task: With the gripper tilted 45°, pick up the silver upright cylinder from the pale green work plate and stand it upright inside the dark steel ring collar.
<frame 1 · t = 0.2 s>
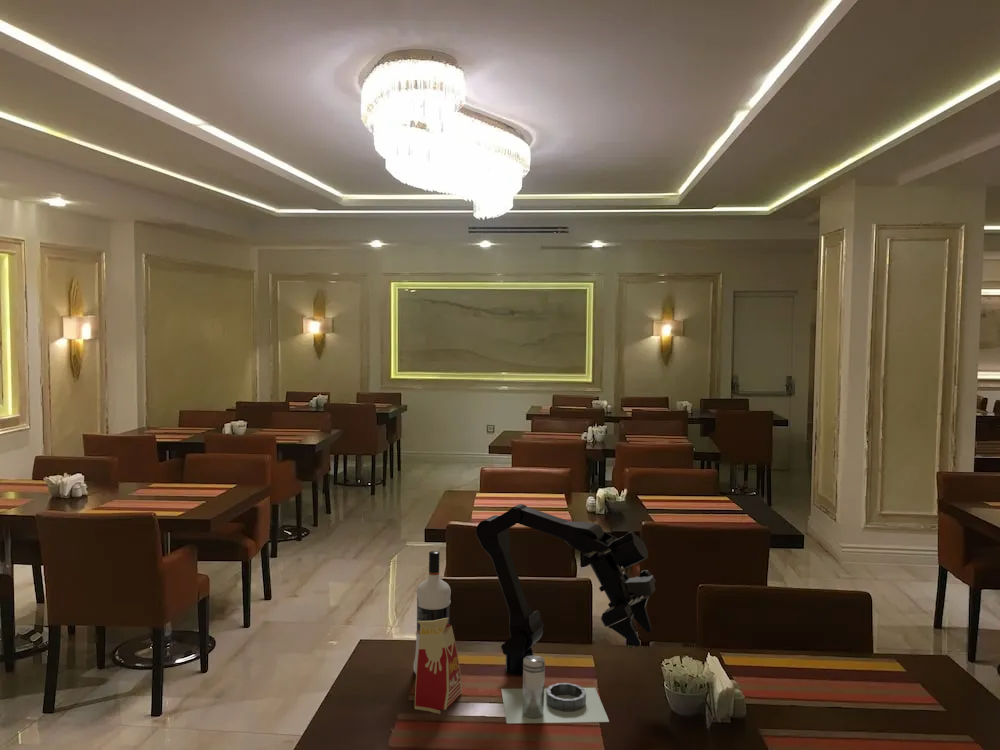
hand: (644, 638, 182), 15 cm above the table, tool tilted 35°, fingers open, 9 cm apart
vodka: (432, 672, 197), on the table
silver upright cylinder: (532, 713, 175), point 1 cm above the table, touching work plate
work plate: (553, 709, 179), on the table
ring collar: (565, 702, 180), resting on work plate
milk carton: (435, 703, 181), on the table
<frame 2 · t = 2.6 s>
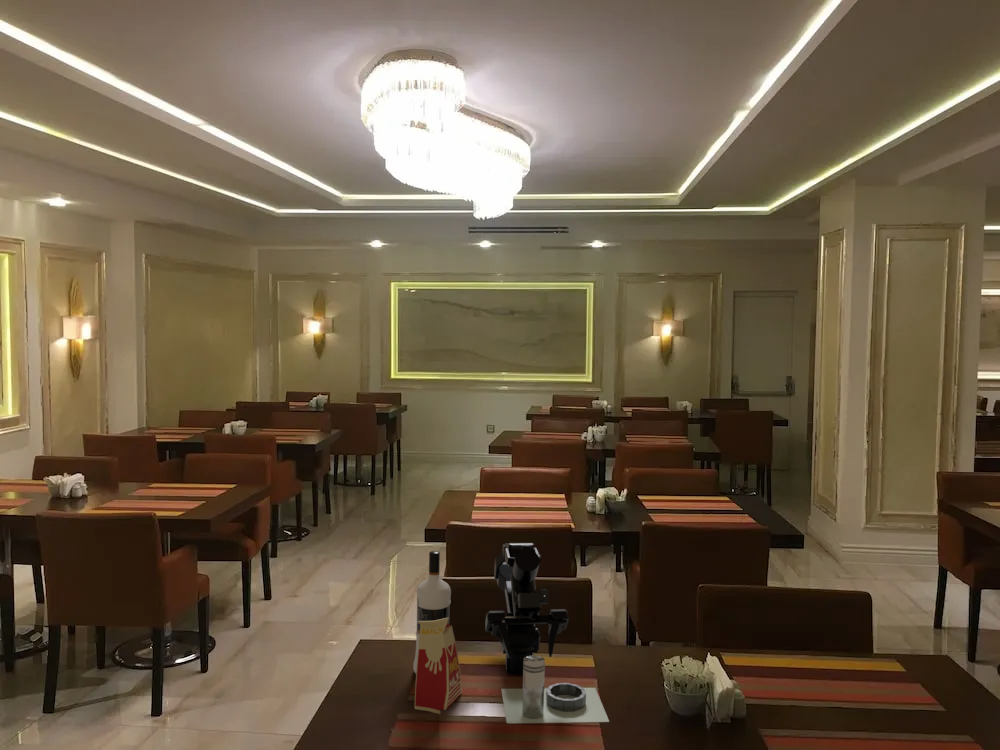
hand: (530, 657, 179), 12 cm above the table, tool tilted 45°, fingers open, 9 cm apart
nothing on the table moved.
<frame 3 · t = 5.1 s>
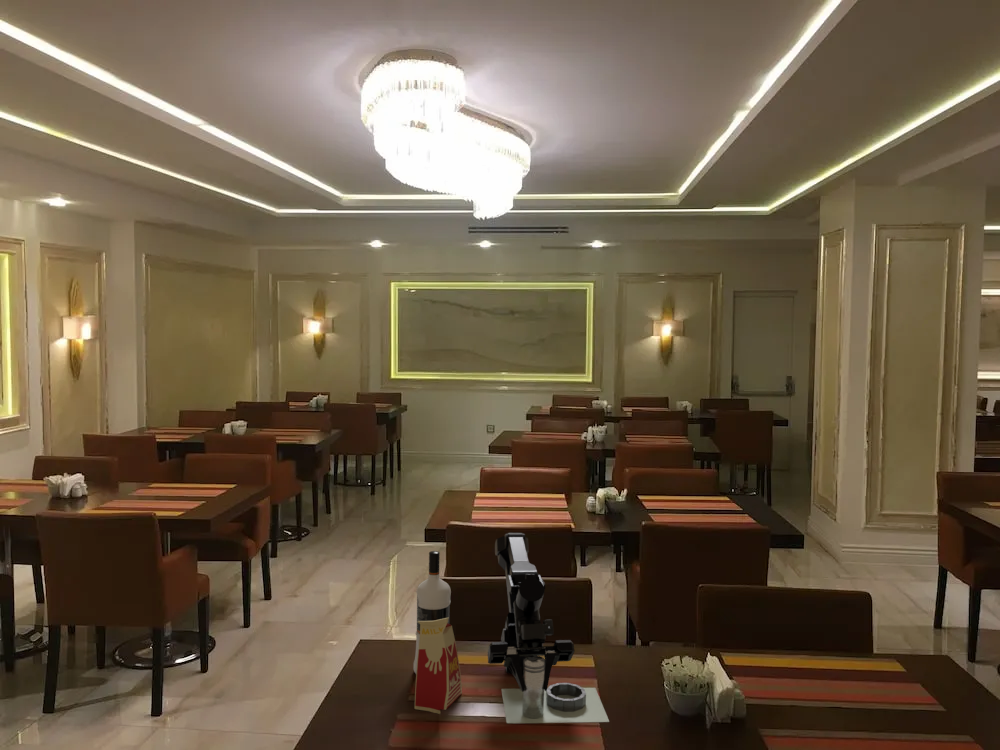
hand: (534, 690, 173), 7 cm above the table, tool tilted 45°, fingers closed on silver upright cylinder, 5 cm apart
silver upright cylinder: (532, 713, 175), point 1 cm above the table, touching gripper, work plate
everything else where it was.
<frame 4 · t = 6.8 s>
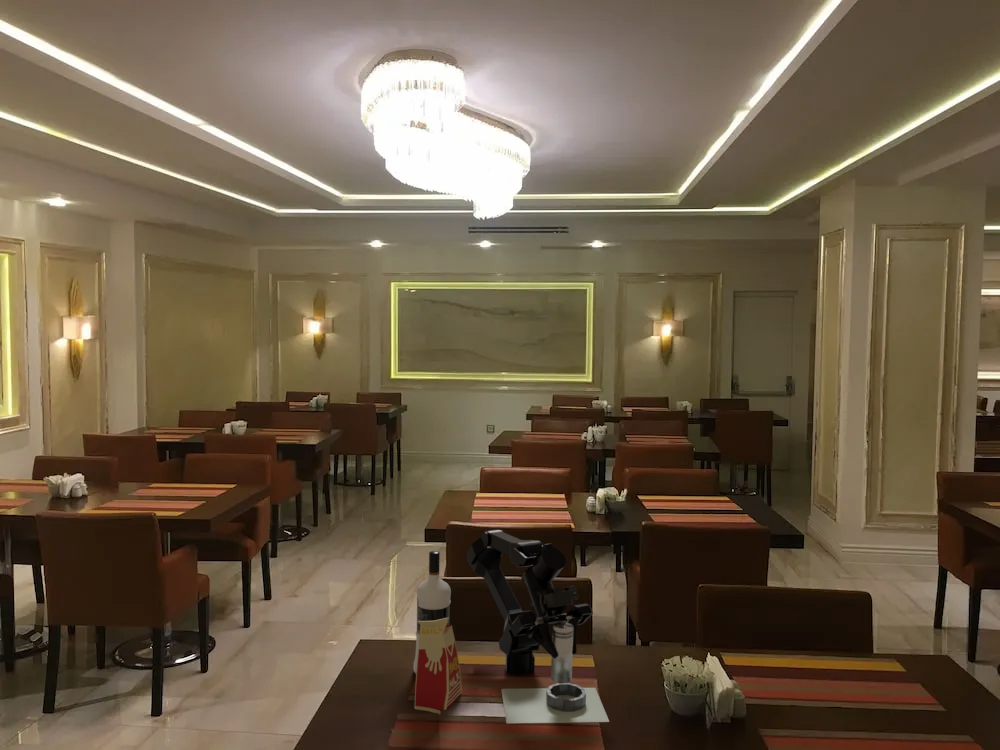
hand: (565, 655, 177), 13 cm above the table, tool tilted 45°, fingers closed on silver upright cylinder, 5 cm apart
silver upright cylinder: (561, 678, 179), point 7 cm above the table, touching gripper
everything else where it was.
when the fingers open (8 cm above the table, at t = 8.6 s): silver upright cylinder stays where it is, resting on work plate.
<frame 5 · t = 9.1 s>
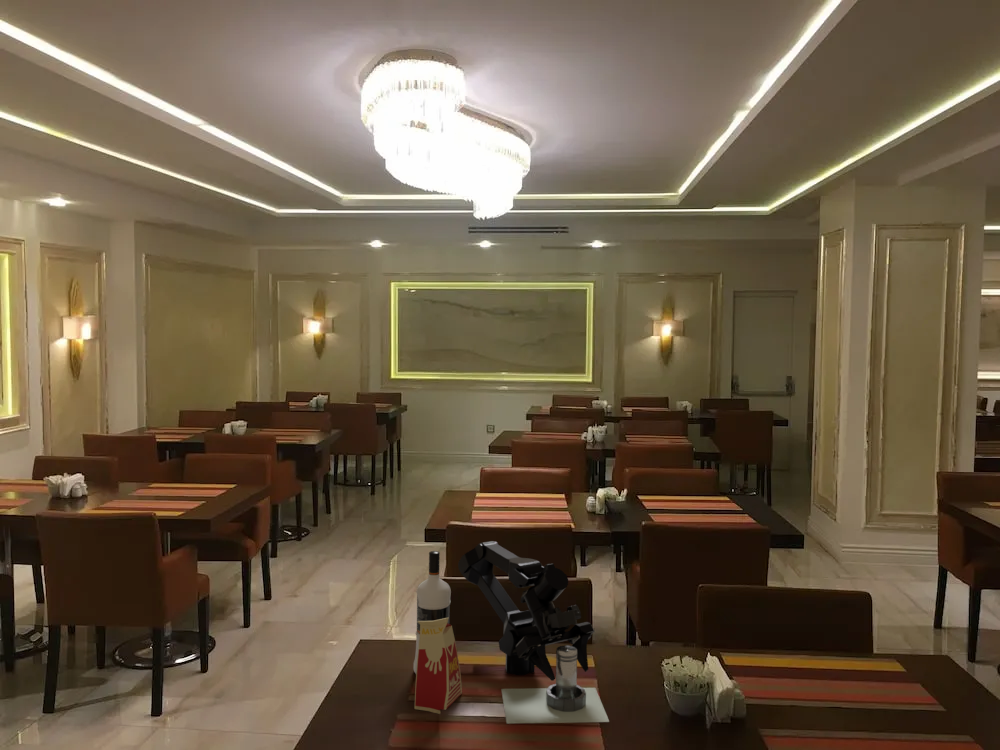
hand: (570, 675, 179), 8 cm above the table, tool tilted 45°, fingers open, 9 cm apart
silver upright cylinder: (565, 702, 180), point 1 cm above the table, touching work plate
everything else where it was.
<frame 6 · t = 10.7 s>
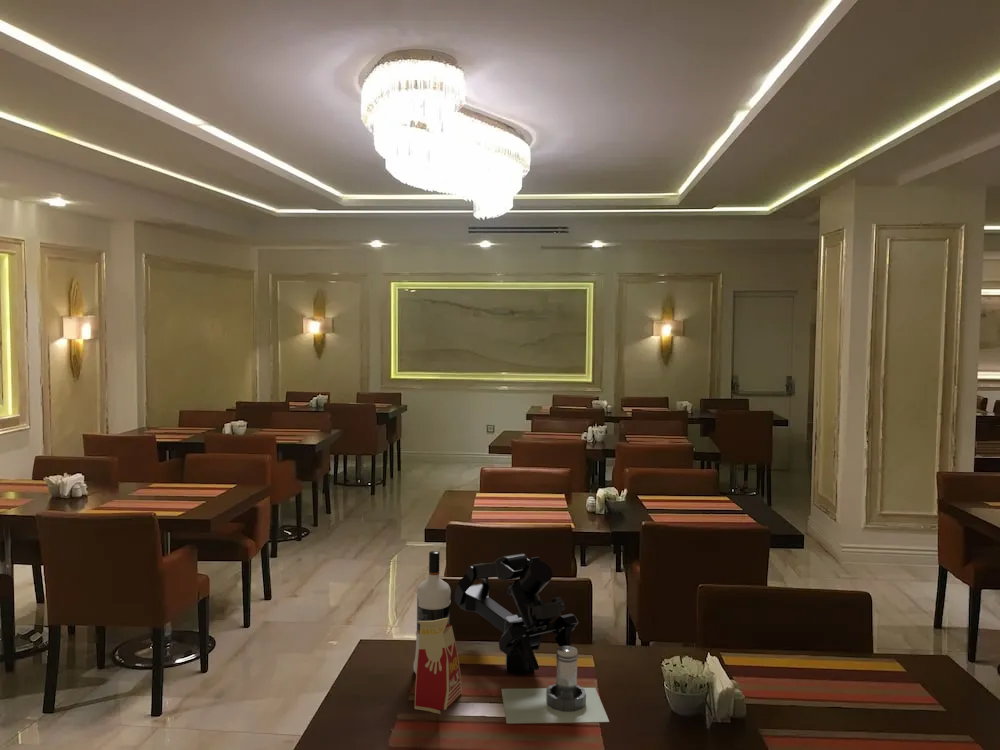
hand: (554, 665, 184), 8 cm above the table, tool tilted 45°, fingers open, 9 cm apart
nothing on the table moved.
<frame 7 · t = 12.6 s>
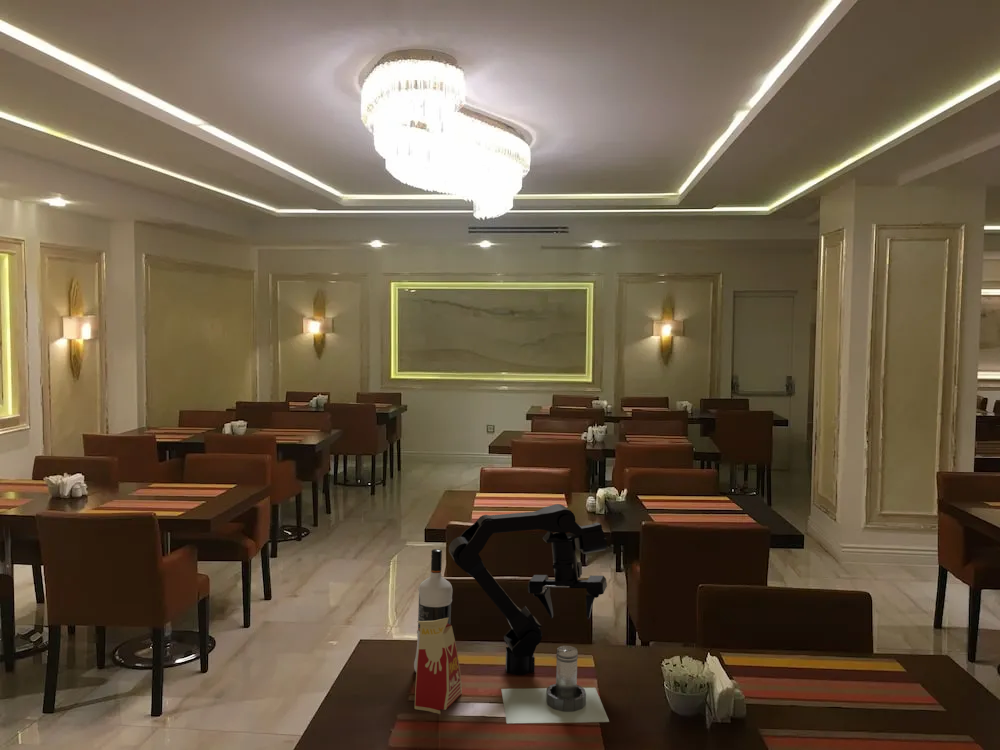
hand: (570, 617, 199), 13 cm above the table, tool pointing down, fingers open, 9 cm apart
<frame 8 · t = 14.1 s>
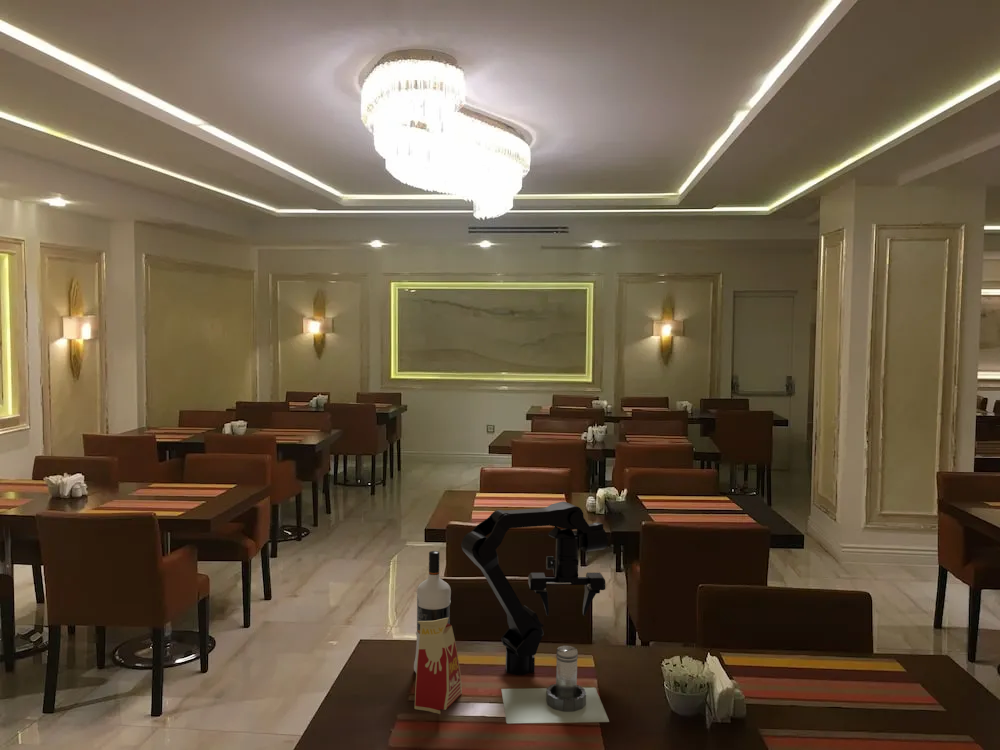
hand: (565, 614, 202), 13 cm above the table, tool pointing down, fingers open, 9 cm apart
at the end: silver upright cylinder 0.1 cm off-centre on the ring collar, point 0.0 cm above the ring collar's base; silver upright cylinder tilted 0°; the gripper is holding nothing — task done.
